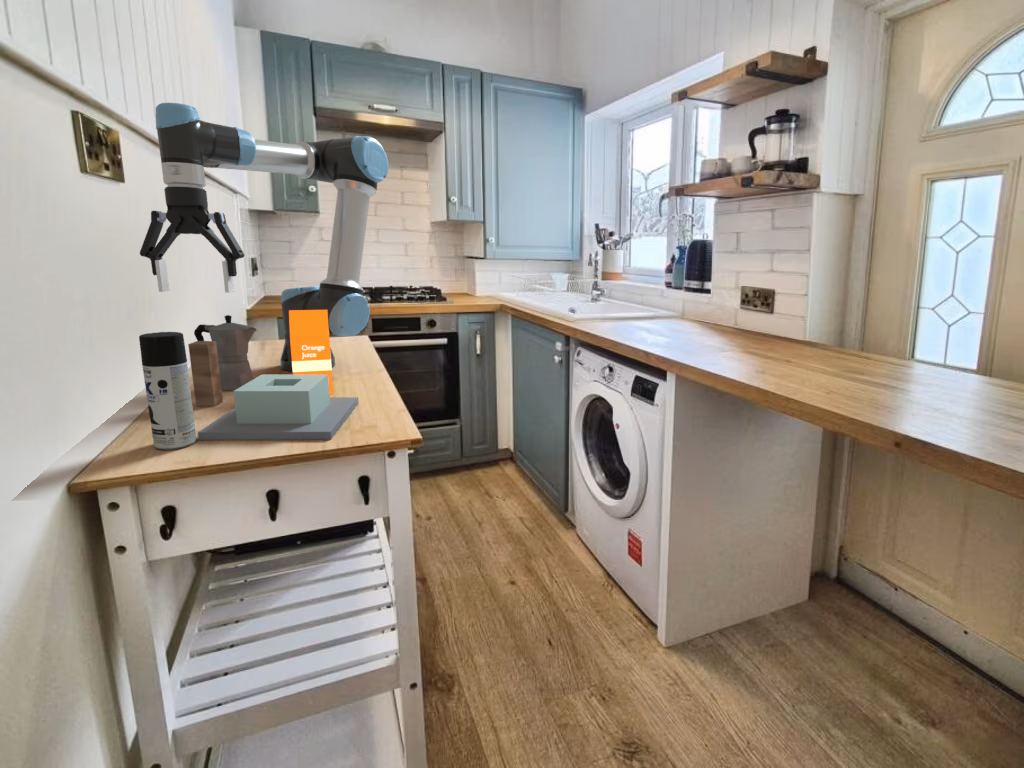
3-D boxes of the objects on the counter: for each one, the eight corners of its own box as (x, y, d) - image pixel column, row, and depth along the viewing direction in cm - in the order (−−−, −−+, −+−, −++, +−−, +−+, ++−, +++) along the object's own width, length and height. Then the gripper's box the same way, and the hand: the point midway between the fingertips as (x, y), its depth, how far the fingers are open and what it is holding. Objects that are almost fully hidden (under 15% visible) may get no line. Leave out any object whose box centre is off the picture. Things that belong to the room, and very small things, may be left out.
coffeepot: (270, 382, 146) (263, 313, 141) (252, 391, 136) (245, 318, 132) (211, 381, 146) (203, 312, 142) (190, 390, 137) (180, 317, 132)
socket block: (250, 403, 126) (247, 369, 124) (358, 403, 128) (356, 369, 126) (198, 440, 103) (193, 398, 101) (331, 439, 104) (328, 398, 102)
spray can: (151, 442, 101) (134, 333, 96) (193, 435, 106) (179, 330, 101) (157, 453, 96) (140, 338, 92) (201, 445, 101) (187, 334, 96)
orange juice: (296, 388, 140) (289, 308, 135) (333, 386, 143) (327, 307, 138) (294, 396, 133) (287, 312, 128) (333, 394, 135) (328, 311, 130)
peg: (204, 401, 128) (197, 340, 124) (222, 401, 128) (215, 341, 125) (196, 406, 124) (188, 344, 120) (214, 406, 124) (207, 344, 121)
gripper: (110, 183, 110) (125, 292, 115) (240, 186, 112) (249, 293, 117) (133, 187, 118) (146, 289, 123) (254, 190, 119) (263, 291, 124)
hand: (197, 291), depth 120 cm, fingers open, 13 cm apart
